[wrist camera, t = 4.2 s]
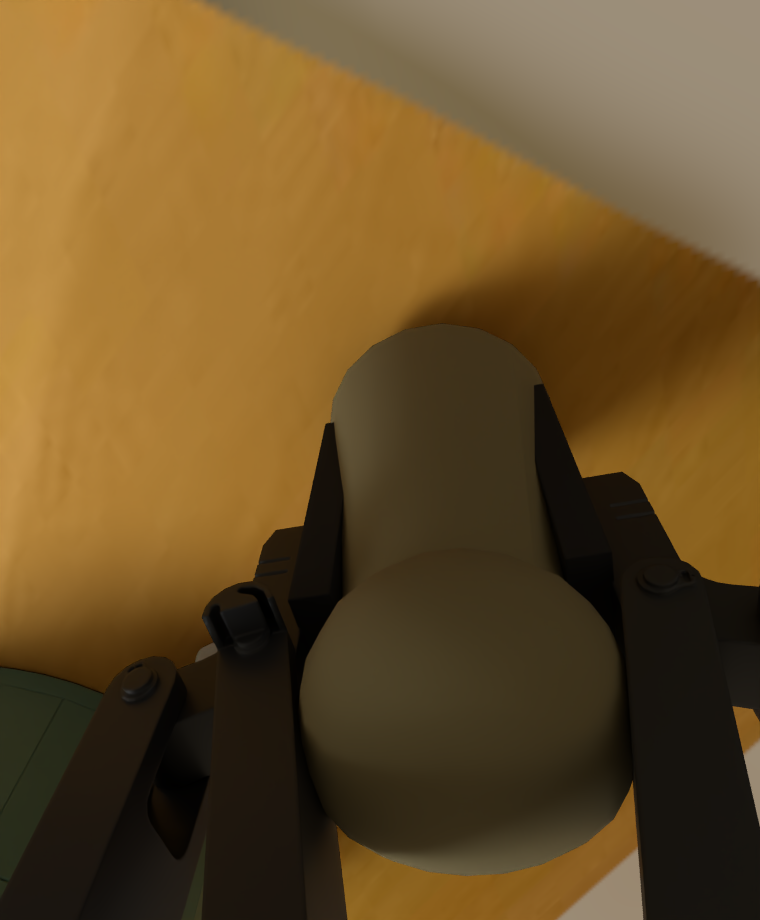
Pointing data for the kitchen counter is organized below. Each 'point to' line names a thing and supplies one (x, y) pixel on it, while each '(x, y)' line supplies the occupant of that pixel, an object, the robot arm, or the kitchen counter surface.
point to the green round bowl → (45, 761)
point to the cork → (457, 626)
